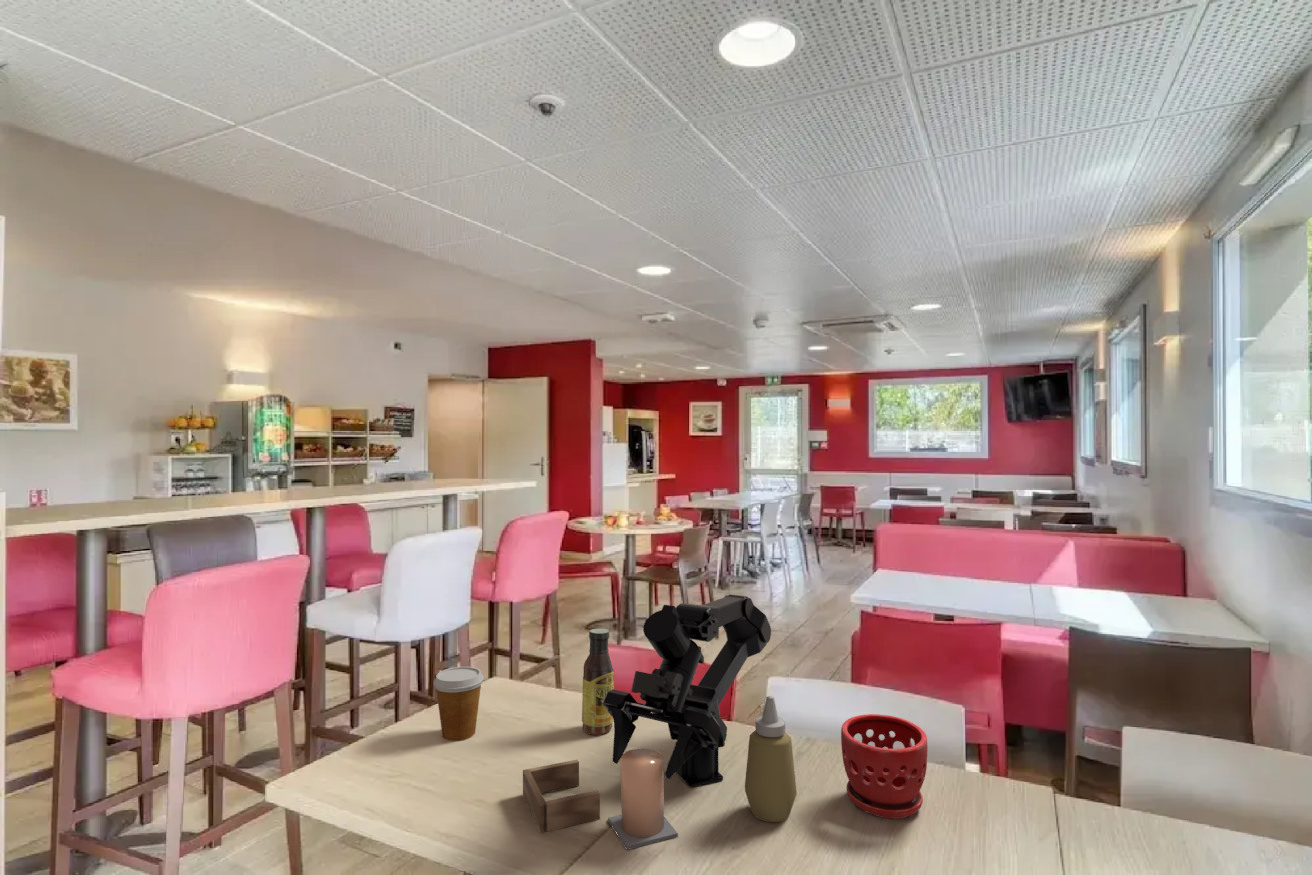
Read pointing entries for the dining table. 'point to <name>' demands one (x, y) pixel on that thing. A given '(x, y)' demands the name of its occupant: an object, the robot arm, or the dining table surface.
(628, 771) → the tan cylinder
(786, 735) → the squeeze bottle
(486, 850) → the dining table surface
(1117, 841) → the dining table surface
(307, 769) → the dining table surface
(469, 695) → the disposable coffee cup
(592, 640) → the sauce bottle
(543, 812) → the open u-shaped wooden holder
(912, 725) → the plant pot
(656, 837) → the rubber mat
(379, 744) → the dining table surface
